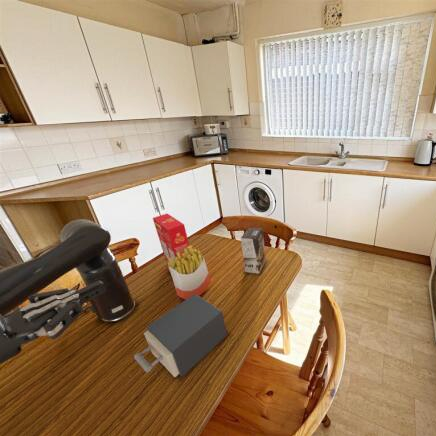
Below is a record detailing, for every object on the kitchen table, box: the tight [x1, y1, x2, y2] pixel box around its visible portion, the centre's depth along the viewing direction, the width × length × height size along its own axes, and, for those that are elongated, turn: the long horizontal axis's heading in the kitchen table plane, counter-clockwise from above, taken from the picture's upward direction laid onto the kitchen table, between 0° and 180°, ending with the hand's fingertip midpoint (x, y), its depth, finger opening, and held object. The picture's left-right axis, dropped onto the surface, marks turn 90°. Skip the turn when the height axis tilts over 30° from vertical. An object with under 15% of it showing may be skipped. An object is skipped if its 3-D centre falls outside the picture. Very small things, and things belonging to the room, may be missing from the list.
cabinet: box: [146, 294, 228, 378], centre depth 66 cm, size 15×13×10 cm
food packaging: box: [152, 213, 190, 274], centre depth 90 cm, size 15×5×25 cm, turn 47°
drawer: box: [133, 329, 179, 378], centre depth 63 cm, size 18×11×8 cm, turn 144°
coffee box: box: [240, 227, 267, 275], centre depth 97 cm, size 9×6×16 cm
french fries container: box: [168, 244, 211, 301], centre depth 83 cm, size 5×11×18 cm, turn 148°
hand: (103, 285), depth 46 cm, fingers closed
